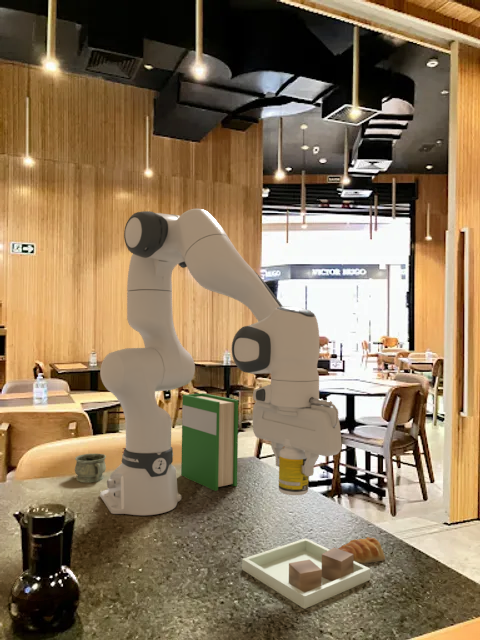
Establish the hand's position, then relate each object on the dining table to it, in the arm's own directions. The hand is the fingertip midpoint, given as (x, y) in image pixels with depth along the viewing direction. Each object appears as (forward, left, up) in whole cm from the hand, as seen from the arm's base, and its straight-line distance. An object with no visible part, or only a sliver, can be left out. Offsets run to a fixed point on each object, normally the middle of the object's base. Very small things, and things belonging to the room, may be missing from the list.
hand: (293, 470), depth 94 cm
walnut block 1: (+7, -4, -18) cm, 19 cm away
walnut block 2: (+7, +4, -18) cm, 20 cm away
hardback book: (-55, +18, -19) cm, 61 cm away
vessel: (-76, -9, -19) cm, 79 cm away
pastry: (+4, +14, -19) cm, 24 cm away
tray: (+3, 0, -18) cm, 19 cm away
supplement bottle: (0, 0, -4) cm, 4 cm away
